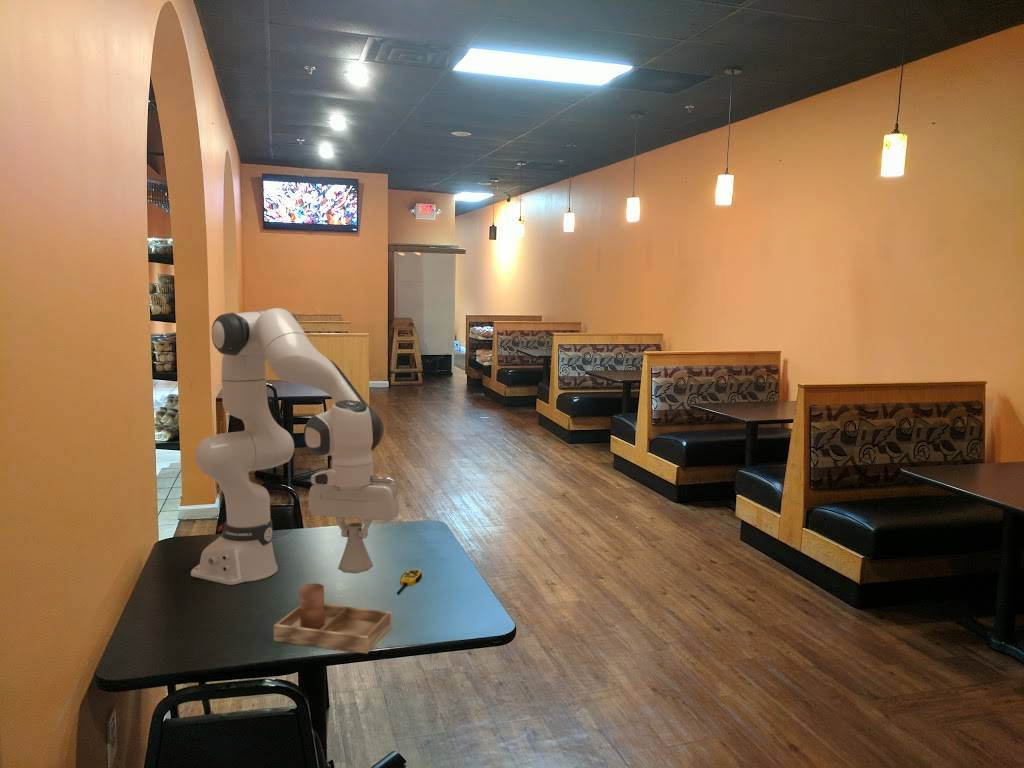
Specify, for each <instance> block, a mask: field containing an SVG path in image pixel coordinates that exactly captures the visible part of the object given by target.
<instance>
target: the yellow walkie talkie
mask: <svg viewBox="0 0 1024 768" xmlns="http://www.w3.org/2000/svg"><path fill="white" fill-rule="evenodd" d="M422 575H423V574H422V570H421V569H419V568H418V569H417V568H411V569H410V570H408V571H405V572H404V573H403V574H402V575H401V577H400V582H399V584H400V586H401V587H400V588H399V590H398V591H397V592H396V594H397V595H399V594H400V593H401V592H402V591H403V589H404V588H406V587H412V586H414V585H416V584H417V583H419V582H420V581H421V579H422Z"/></svg>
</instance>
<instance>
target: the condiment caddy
mask: <svg viewBox="0 0 1024 768" xmlns="http://www.w3.org/2000/svg"><path fill="white" fill-rule="evenodd" d="M324 593H325V587H324V585H323V584H321V583H309V584H304V585H302V586H301V587H299V605H298V606H297V607H296V608H294V609H293V610H292V611H290V612H289V613H288V614H286V615H285V616H284V617H282V618H281V619H280V620H278V621H277V622H276V623H275V624H273V625H272V627H273V641H274V642H279V643H287V644H294V645H301V646H302V645H303V646H307V647H308V646H309V647H317V648H323V649H330V650H337V651H338V650H339V651H343V652H345V651H346V652H351V653H352V652H353V653H359V654H366V655H367V654H368V653H369V652H370V651H371V650H372V649H373V648H374V647H375V646H376V645H377V644H378V642H379V641H380V640H382V638H383V637H384V636H385V635H386V634H387V633H388V631H390V630H391V628H392V627H393V625H392V624H393V620H392V618H393V617H392V614H393V612H392V611H387V610H386V611H384V610H376V609H368V608H360V607H353V606H345V605H337V604H335V605H334V604H329V603H327V604H326V603H325V594H324Z"/></svg>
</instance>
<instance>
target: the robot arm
mask: <svg viewBox="0 0 1024 768" xmlns="http://www.w3.org/2000/svg"><path fill="white" fill-rule="evenodd" d="M211 339H212V340H211V341H212V344H213V346H214V347H215V349H216V350H217V351H218V352H219V353H220V354H222V361H221V393H222V394H221V397H222V398H221V399H222V402H221V403H222V407H223V409H224V411H225V412H226V413H227V414H228V415H230V416H232V417H234V418H236V419H240V420H241V421H242V423H243V426H244V430H241V431H232V432H231V431H230V432H224V433H218V434H215V435H211V436H209V437H205V438H202V439H201V441H200V442H199V443H198V445H197V447H196V449H195V450H196V451H195V462H196V465H197V467H198V468H199V470H200V471H201V472H202V473H204V474H205V475H207V476H208V477H210V478H211V479H213V480H214V481H215V482H216V483H217V484H218V486H219V487H220V489H221V491H222V493H223V496H224V501H225V502H224V503H225V511H226V522H223V524H221V525H219V526H217V528H218V529H217V531H218V532H219V531H222V532H221V534H220V536H219V537H217V539H214V540H213V542H211V543H209V544H208V545H207V546H206V547H205V548H204V549H203V550H202V553H200V554H201V555H200V559H199V560H200V561H199V564H197V565H196V566H194V567H193V568H192V569H191V571H190V576H191V577H194V578H199V579H201V580H202V579H203V580H206V581H211V582H215V583H219V584H224V585H228V586H231V585H237V584H241V583H245V582H253V581H259V580H263V579H266V578H269V577H271V576H272V575H274V574H276V573H277V572H278V570H279V567H278V564H277V561H276V558H275V557H276V556H275V554H274V553H275V552H274V547H273V519H272V518H271V499H270V497H271V496H270V494H269V491H268V489H267V488H266V487H264V486H263V485H261V484H258V483H255V482H253V481H251V480H250V478H249V477H250V475H249V473H250V472H254V471H261V470H266V469H273V468H275V467H279V466H281V465H283V464H286V463H289V461H290V460H291V459H292V458H293V455H294V452H295V442H294V439H293V436H292V435H291V433H289V431H288V430H286V429H285V428H284V427H282V426H280V424H278V422H277V421H276V420H275V419H274V417H273V415H272V412H271V409H270V407H269V401H268V392H267V371H266V363H267V365H268V367H269V368H270V370H271V372H272V373H273V374H274V375H275V377H277V378H278V379H280V380H282V381H284V382H286V383H290V384H292V385H293V384H294V385H299V386H300V385H301V386H307V387H311V388H315V389H318V390H320V391H322V392H325V393H326V394H328V395H329V396H330V398H331V399H332V400H333V402H334V404H332V406H331V408H330V409H328V410H327V411H324V412H322V413H318V414H316V415H312V416H310V418H309V419H308V420H307V421H306V423H305V426H304V428H303V441H304V445H305V447H306V449H308V451H309V452H311V453H312V454H313V455H314V456H316V457H317V456H319V457H329V456H330V457H332V461H331V466H330V467H328V468H324V469H322V470H320V471H318V472H315V473H314V474H312V475H311V477H310V482H311V484H312V485H311V486H310V489H309V493H308V511H309V512H310V514H311V515H312V516H315V517H316V516H318V517H328V518H329V517H331V518H335V522H336V524H337V525H338V527H339V529H340V530H341V531H340V532H341V537H342V538H348V528H347V525H348V524H347V523H346V519H356V520H357V519H358V520H361V521H362V523H361V524H363V526H362V527H361V529H360V530H358V534H359V535H358V538H363V539H366V538H368V536H369V533H368V529H369V528H370V526H371V525H372V522H373V520H375V521H387V522H388V521H389V522H390V521H391V522H392V521H393V520H394V519H396V518H397V517H398V515H400V505H399V496H398V493H399V485H398V483H397V481H395V480H394V479H392V478H391V477H389V476H386V477H383V476H382V477H381V476H375V474H374V473H375V472H374V457H373V455H372V451H374V449H376V448H377V447H378V445H380V443H381V441H382V439H383V436H384V433H385V429H384V428H385V427H384V423H383V420H382V419H381V416H380V415H379V414H378V413H377V412H376V410H374V409H373V408H372V407H371V406H370V405H369V404H368V403H367V402H366V401H365V399H363V397H362V396H361V395H360V393H359V392H358V391H357V389H356V388H355V386H354V385H353V384H352V383H351V381H350V380H349V379H348V377H347V376H346V375H345V373H344V372H343V371H342V370H341V369H340V367H339V365H337V364H336V363H335V362H334V361H332V360H331V359H329V358H328V357H326V356H324V354H322V353H321V352H320V350H318V349H317V348H316V347H315V346H314V345H313V343H312V342H311V340H310V339H309V337H308V335H307V334H306V332H305V331H304V329H303V327H302V326H301V324H300V322H299V320H298V318H297V317H296V316H295V315H294V314H291V312H290V311H289V310H287V309H284V308H280V307H273V308H269V309H267V310H254V311H245V312H238V313H237V312H236V313H235V312H228V313H223V314H220V315H219V316H217V317H216V318H215V320H214V321H213V322H212V326H211Z"/></svg>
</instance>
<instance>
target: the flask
mask: <svg viewBox="0 0 1024 768" xmlns="http://www.w3.org/2000/svg"><path fill="white" fill-rule="evenodd" d="M346 525H347V528H348V537H347V541H346V544H345V548H344V551H343V554H342V556H341V559H340V562H339V565H338V567H337V570H338V571H341V572H342V573H345V574H346V573H347V574H355V575H356V574H360V573H364V572H367V571H369V570H371V569H372V568H373V567H374V564H373V562H372V560H371V557H370V555H369V553H368V551H367V548H366V544H365V543H364V538H358V535H359V534H358V530H360V529H361V528H363V527H364V524H363V523H361V522H352V523H348V524H346Z"/></svg>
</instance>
